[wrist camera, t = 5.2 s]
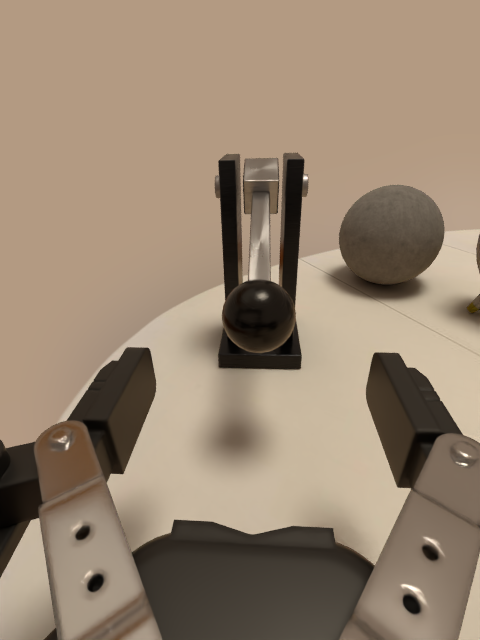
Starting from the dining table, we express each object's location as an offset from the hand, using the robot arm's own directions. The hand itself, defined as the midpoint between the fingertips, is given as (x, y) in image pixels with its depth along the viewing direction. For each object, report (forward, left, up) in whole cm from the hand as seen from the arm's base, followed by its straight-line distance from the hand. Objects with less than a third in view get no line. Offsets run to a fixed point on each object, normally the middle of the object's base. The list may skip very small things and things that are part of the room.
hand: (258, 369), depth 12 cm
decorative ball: (+27, +11, -8) cm, 31 cm away
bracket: (+9, +11, -8) cm, 16 cm away
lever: (+6, +7, 0) cm, 10 cm away
